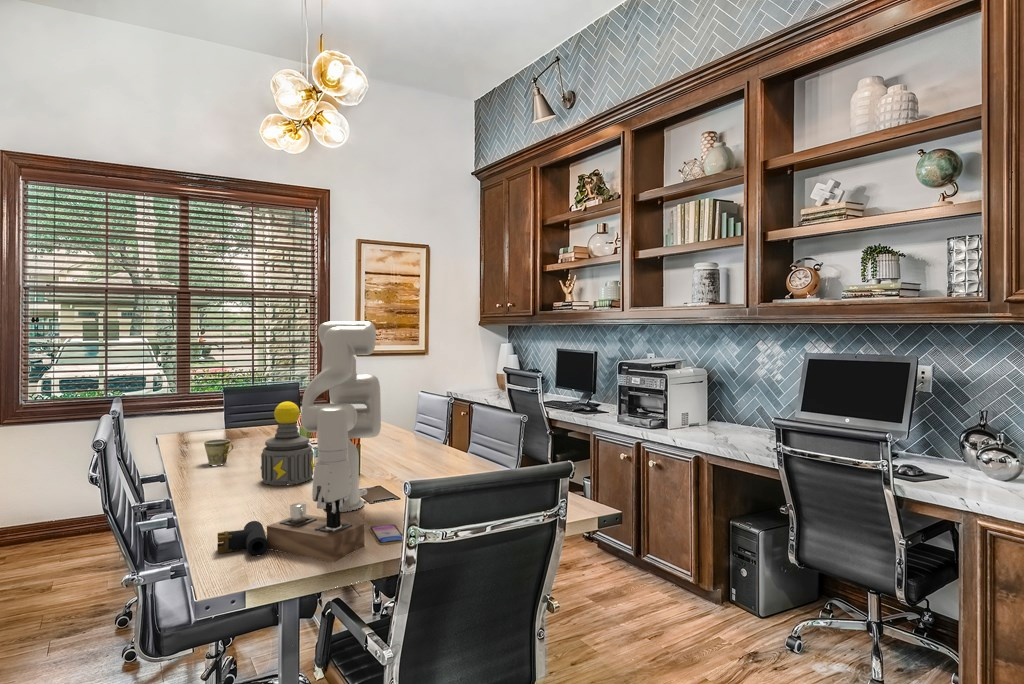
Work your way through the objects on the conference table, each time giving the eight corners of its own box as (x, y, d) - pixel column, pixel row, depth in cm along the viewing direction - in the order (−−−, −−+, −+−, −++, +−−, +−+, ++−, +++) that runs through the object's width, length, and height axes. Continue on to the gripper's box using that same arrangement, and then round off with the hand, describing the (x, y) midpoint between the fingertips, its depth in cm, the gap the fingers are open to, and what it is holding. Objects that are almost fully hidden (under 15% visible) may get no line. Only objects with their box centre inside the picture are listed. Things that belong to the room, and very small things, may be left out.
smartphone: (395, 526, 179) (395, 523, 179) (407, 543, 165) (407, 539, 165) (368, 529, 176) (368, 526, 176) (379, 547, 162) (379, 543, 162)
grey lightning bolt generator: (306, 486, 224) (305, 404, 223) (253, 487, 223) (252, 404, 222) (319, 473, 243) (318, 398, 242) (270, 474, 241) (269, 398, 241)
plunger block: (300, 534, 171) (300, 512, 170) (364, 546, 161) (364, 522, 161) (267, 548, 160) (266, 524, 160) (333, 562, 150) (332, 536, 150)
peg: (298, 525, 166) (298, 502, 166) (309, 527, 164) (309, 504, 164) (287, 529, 162) (286, 506, 162) (298, 531, 160) (298, 508, 160)
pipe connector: (218, 541, 151) (217, 524, 164) (218, 563, 151) (216, 544, 164) (268, 535, 156) (263, 519, 169) (268, 556, 156) (262, 538, 170)
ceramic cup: (198, 466, 256) (198, 442, 256) (216, 461, 266) (216, 438, 266) (224, 468, 253) (223, 444, 252) (241, 463, 262) (241, 440, 262)
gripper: (341, 449, 166) (341, 517, 166) (300, 460, 152) (301, 533, 152) (363, 451, 163) (363, 520, 163) (323, 462, 149) (324, 537, 149)
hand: (333, 526), depth 158 cm, fingers closed
